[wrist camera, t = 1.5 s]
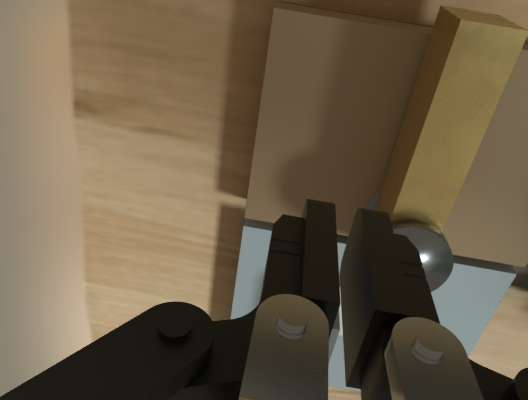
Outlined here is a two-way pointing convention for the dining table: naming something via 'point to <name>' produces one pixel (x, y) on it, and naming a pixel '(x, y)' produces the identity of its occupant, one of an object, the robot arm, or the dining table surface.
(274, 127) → the door mock-up
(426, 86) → the swing bar
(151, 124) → the dining table surface
